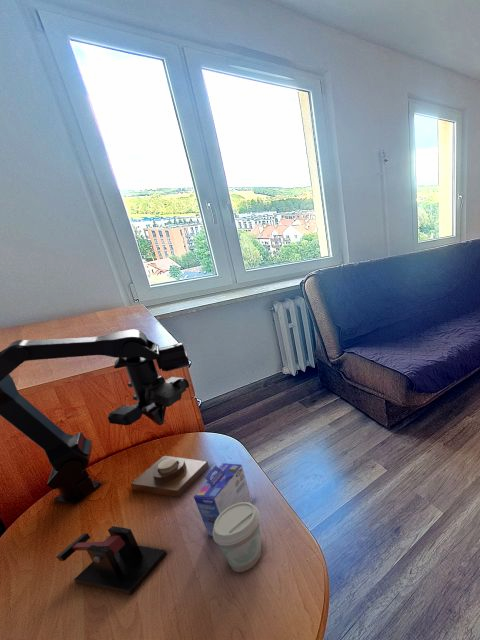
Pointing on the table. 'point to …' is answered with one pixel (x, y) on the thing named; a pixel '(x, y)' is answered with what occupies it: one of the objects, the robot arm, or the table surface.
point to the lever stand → (120, 564)
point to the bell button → (167, 465)
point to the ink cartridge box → (221, 492)
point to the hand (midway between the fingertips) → (160, 424)
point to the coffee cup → (239, 535)
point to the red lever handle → (81, 544)
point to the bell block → (170, 477)
